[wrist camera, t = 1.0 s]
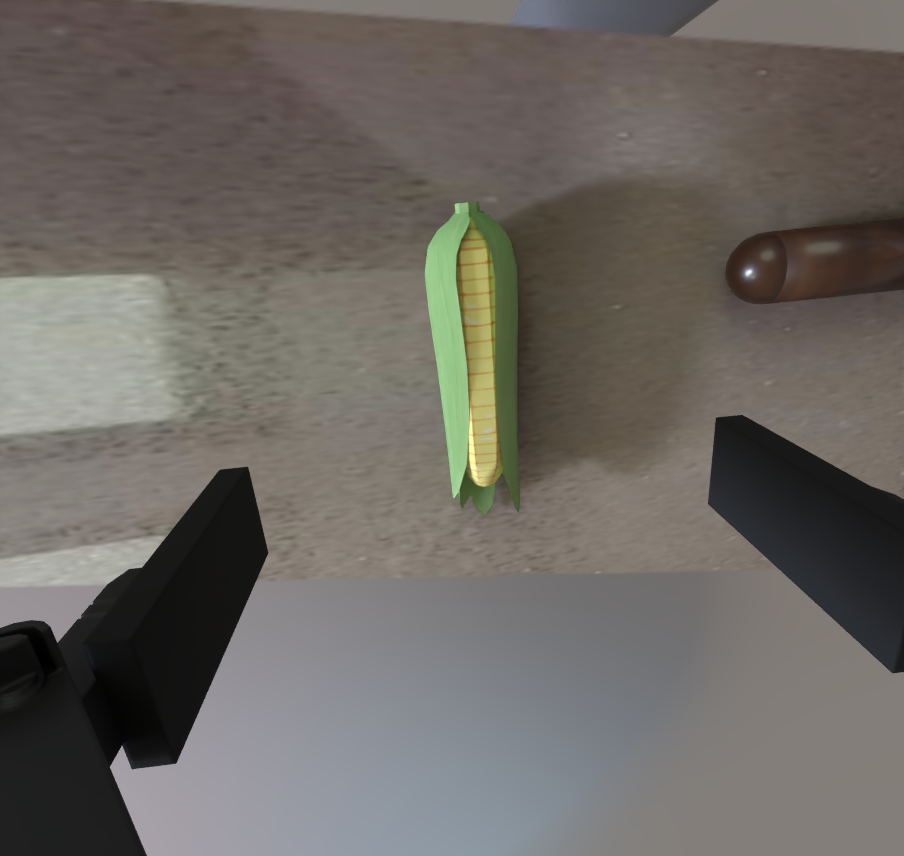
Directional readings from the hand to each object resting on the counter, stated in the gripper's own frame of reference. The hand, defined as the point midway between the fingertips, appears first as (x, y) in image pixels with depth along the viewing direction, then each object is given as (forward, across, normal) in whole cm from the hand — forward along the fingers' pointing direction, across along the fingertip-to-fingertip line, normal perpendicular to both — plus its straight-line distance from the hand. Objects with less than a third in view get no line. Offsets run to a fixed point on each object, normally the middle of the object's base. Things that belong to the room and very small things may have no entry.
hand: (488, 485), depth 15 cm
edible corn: (+20, +2, -2) cm, 20 cm away
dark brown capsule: (+19, +24, +3) cm, 31 cm away
